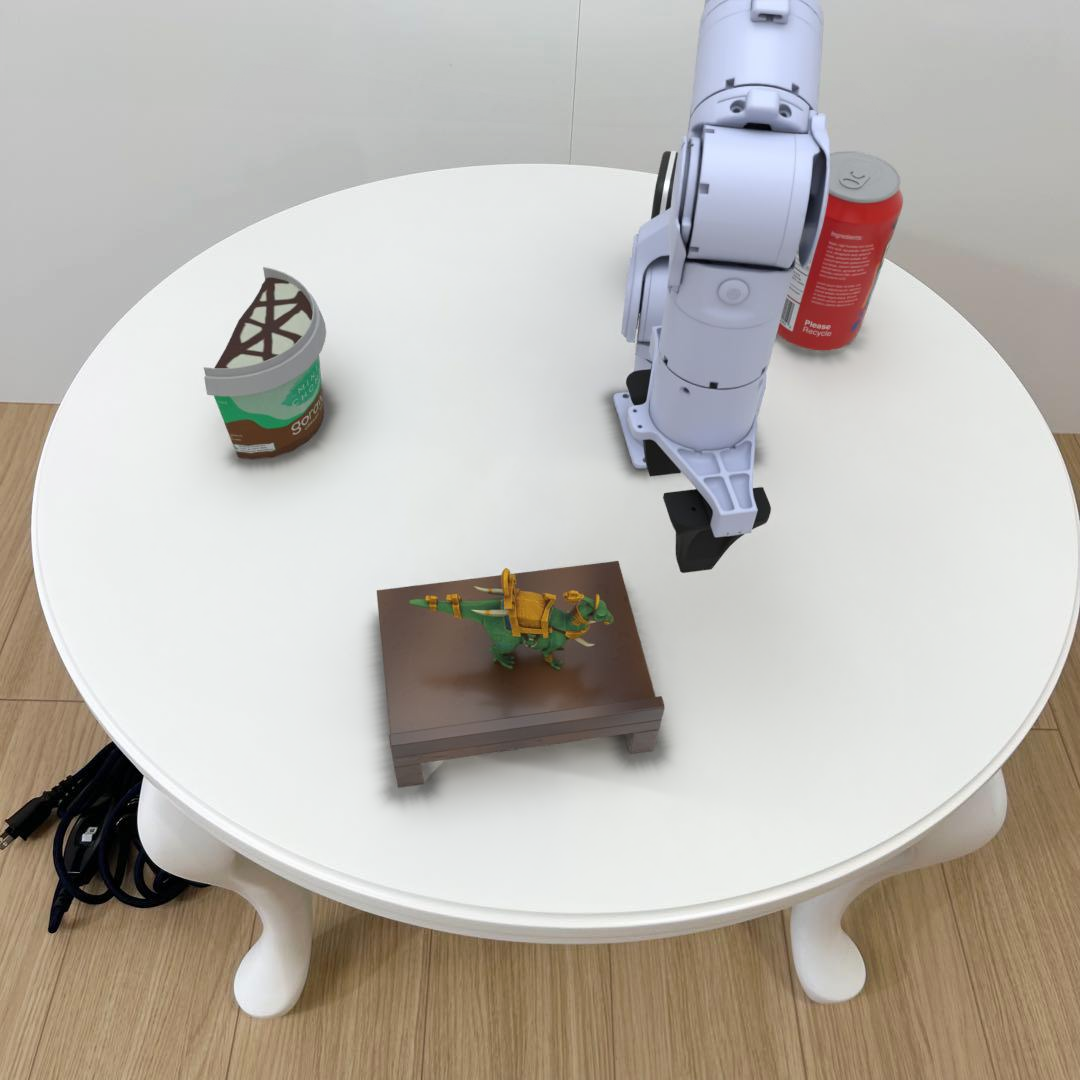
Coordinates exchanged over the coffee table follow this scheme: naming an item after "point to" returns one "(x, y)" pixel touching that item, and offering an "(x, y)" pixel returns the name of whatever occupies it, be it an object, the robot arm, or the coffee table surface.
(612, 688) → the display stand
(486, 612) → the figurine
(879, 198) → the soda can
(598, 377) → the coffee table surface
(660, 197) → the battery charger
